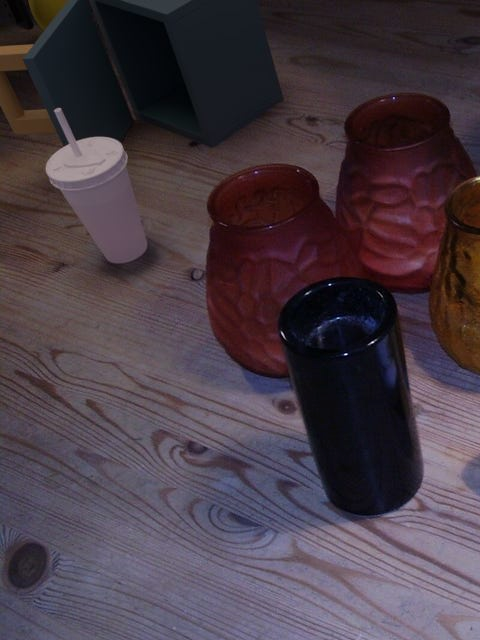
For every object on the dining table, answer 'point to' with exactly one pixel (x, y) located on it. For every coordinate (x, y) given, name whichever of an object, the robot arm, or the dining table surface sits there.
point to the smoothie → (99, 192)
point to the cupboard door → (67, 80)
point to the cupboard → (191, 63)
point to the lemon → (45, 10)
